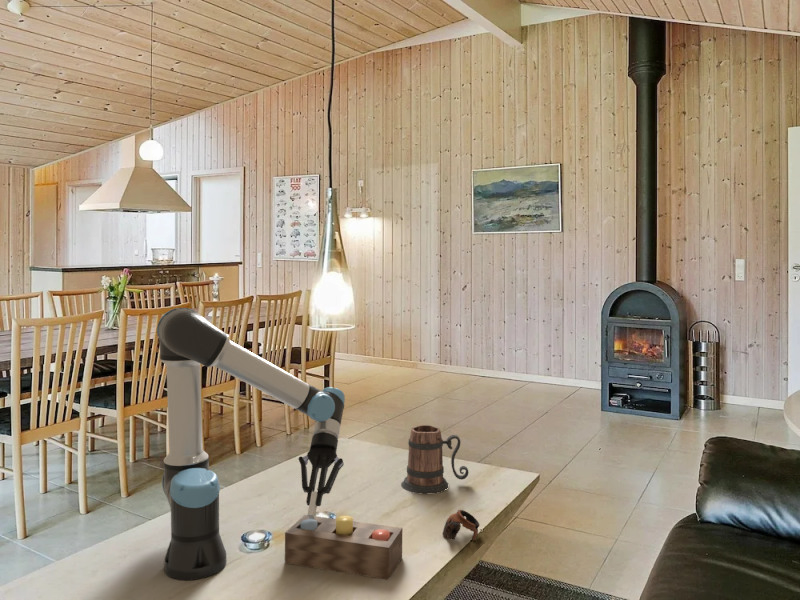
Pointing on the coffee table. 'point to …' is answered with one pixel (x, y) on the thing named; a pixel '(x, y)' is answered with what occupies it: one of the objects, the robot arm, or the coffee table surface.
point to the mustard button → (344, 525)
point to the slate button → (309, 524)
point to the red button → (381, 535)
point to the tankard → (428, 461)
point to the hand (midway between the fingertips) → (311, 516)
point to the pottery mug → (456, 521)
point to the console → (344, 548)
